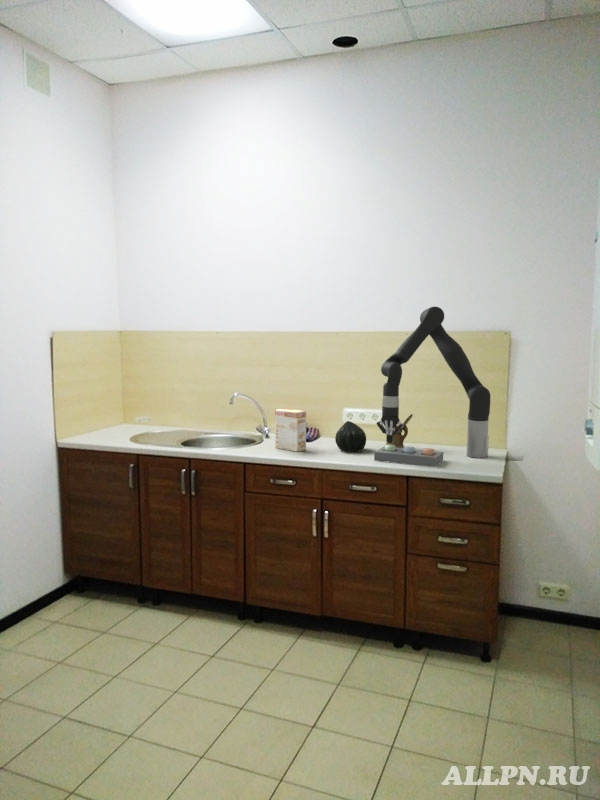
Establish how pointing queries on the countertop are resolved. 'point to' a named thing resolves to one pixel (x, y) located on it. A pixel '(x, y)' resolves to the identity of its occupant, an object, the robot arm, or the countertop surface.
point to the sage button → (390, 448)
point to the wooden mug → (400, 435)
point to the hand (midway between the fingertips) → (389, 442)
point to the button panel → (408, 457)
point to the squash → (350, 437)
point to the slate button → (409, 449)
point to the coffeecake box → (290, 429)
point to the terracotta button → (428, 451)
